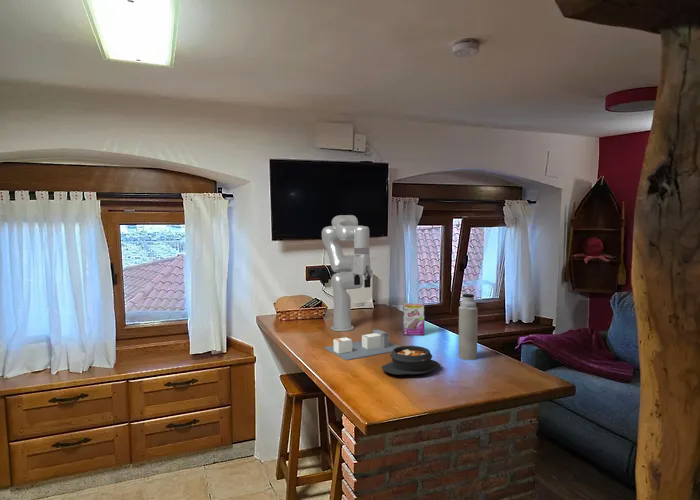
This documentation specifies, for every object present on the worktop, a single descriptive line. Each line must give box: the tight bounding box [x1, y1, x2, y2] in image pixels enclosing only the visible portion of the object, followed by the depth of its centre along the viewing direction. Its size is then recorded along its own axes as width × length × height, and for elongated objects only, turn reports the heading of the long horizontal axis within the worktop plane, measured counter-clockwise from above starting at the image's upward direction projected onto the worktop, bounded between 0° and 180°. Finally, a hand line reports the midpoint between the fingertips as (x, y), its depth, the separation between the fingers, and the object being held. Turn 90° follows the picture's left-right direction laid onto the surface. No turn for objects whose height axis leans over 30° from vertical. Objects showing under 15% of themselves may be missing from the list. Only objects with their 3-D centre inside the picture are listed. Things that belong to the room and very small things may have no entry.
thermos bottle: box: [458, 293, 479, 361], centre depth 202 cm, size 8×8×28 cm
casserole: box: [381, 345, 441, 376], centre depth 186 cm, size 25×19×8 cm
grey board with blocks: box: [323, 328, 401, 361], centre depth 217 cm, size 22×32×7 cm
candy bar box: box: [402, 302, 425, 336], centre depth 242 cm, size 11×5×16 cm, turn 84°
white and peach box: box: [333, 336, 353, 354], centre depth 211 cm, size 5×7×6 cm
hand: (362, 286), depth 227 cm, fingers open, 9 cm apart
